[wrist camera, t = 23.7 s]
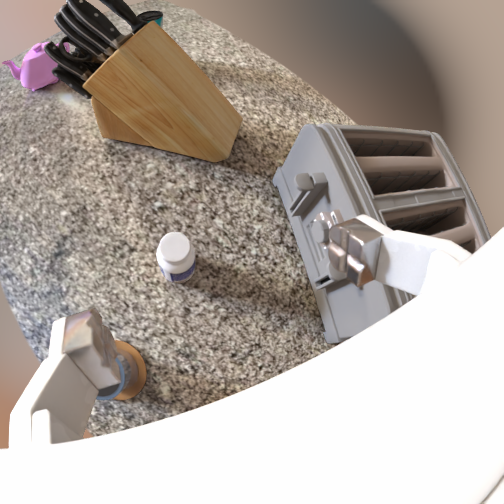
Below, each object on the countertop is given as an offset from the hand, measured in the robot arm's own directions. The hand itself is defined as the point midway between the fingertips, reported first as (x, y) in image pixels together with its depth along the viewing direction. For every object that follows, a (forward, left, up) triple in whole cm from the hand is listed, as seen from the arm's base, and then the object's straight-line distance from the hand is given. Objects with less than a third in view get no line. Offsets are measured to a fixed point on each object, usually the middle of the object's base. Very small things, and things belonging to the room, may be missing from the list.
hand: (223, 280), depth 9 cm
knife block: (+34, +22, -34) cm, 53 cm away
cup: (-9, +10, -34) cm, 36 cm away
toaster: (+24, -24, -34) cm, 48 cm away
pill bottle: (+9, +6, -34) cm, 36 cm away
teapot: (+44, +62, -34) cm, 83 cm away
